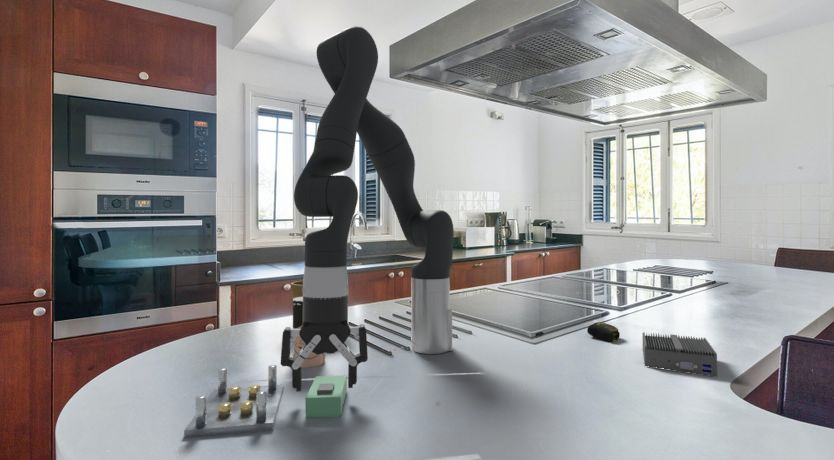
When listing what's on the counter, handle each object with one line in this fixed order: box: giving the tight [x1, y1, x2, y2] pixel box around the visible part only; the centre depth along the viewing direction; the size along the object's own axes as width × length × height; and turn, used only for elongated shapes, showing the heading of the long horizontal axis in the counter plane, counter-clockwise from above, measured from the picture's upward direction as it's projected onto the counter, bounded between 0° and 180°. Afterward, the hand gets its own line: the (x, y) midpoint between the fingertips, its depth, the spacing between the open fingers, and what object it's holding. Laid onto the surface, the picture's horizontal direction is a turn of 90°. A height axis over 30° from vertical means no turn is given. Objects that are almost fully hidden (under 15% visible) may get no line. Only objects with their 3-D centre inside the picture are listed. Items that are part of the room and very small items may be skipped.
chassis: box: [183, 364, 285, 439], centre depth 70 cm, size 16×12×5 cm
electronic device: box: [642, 331, 718, 377], centre depth 96 cm, size 13×15×5 cm
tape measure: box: [586, 322, 620, 343], centre depth 114 cm, size 7×7×4 cm
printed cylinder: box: [292, 297, 326, 368], centre depth 92 cm, size 7×7×15 cm
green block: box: [305, 375, 348, 418], centre depth 73 cm, size 10×6×4 cm, turn 4°
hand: (324, 388), depth 72 cm, fingers open, 8 cm apart
